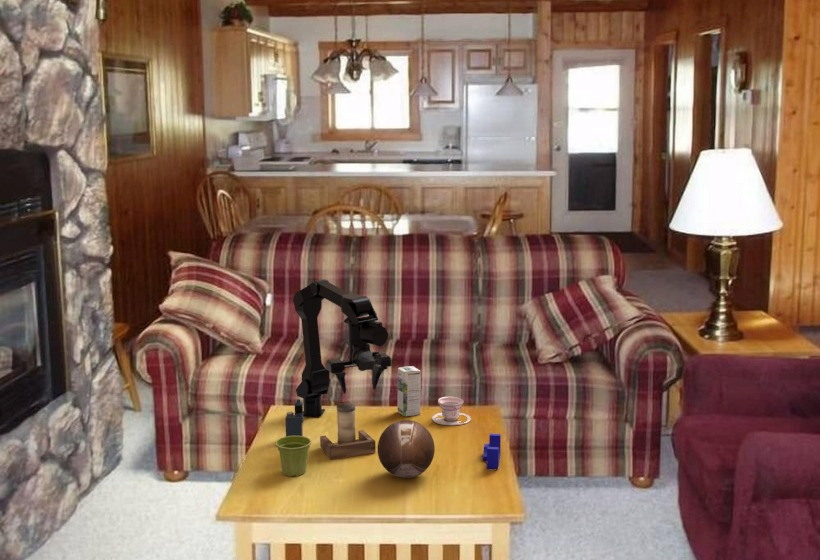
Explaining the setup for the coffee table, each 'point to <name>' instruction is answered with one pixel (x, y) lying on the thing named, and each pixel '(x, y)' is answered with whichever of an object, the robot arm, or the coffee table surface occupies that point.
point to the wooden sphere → (406, 449)
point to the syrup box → (409, 391)
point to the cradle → (349, 446)
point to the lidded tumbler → (346, 423)
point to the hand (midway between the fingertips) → (359, 391)
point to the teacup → (450, 411)
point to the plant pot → (293, 454)
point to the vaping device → (295, 421)
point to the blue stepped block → (492, 451)
